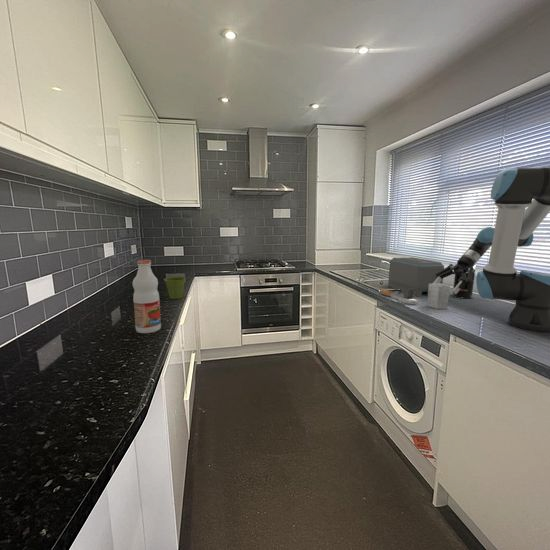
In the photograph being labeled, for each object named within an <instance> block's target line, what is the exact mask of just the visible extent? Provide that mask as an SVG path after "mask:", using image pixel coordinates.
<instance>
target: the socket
mask: <svg viewBox="0 0 550 550" xmlns="http://www.w3.org/2000/svg"><path fill="white" fill-rule="evenodd" d="M450 288H451V285H449V284H445V283H442V284H441V283H431V284H429V287H428V292H427V298H426V299H427V300H426V306H427V307H430V308H431V309H435V310H440V309H441V310H442V309H448V307H449V298H450Z"/></svg>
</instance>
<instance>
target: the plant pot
mask: <svg viewBox="0 0 550 550" xmlns="http://www.w3.org/2000/svg"><path fill="white" fill-rule="evenodd" d="M186 280H187V278H186V277H184V276H171V277H166V278H164V279H163V281H164V282H165V285H166V288H167V292H168V295H169V299H170V300H176V299H177V300H180V299H183V297H184V290H185V289H184V288H185V282H186Z"/></svg>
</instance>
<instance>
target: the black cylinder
mask: <svg viewBox="0 0 550 550" xmlns="http://www.w3.org/2000/svg"><path fill="white" fill-rule="evenodd" d="M456 264H457V262H456V263H455V265H456ZM473 268H474V270H475V272H474V273H473V277H472V282H471V284H470V285H469V284H467V285H465V286H464V287H463V288H462V289H460V290H459V292H458V293H457V294H455V293H454V292H453V291H452V295H453V297H455V296H456V298H459V297H463V298H462V299H470V298H472V297H473V291H474V284H475V278H476V277H475V276H476V270H477V263H476V264H475V265H474V266H473ZM467 276H468V272H466V279H467ZM460 281H462V275H460V274H454V279H453V288H452V290H453V289H454V288H455V287H456V286H457V285H458V283H459V282H460ZM462 282H463V281H462Z"/></svg>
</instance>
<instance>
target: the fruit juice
mask: <svg viewBox="0 0 550 550" xmlns="http://www.w3.org/2000/svg"><path fill="white" fill-rule="evenodd" d="M151 264H152V260H151V259H139V260H136V265H137V266H138V267H137V273H136V276H135V277H134V278H133V280H132V288H133V290H134V291H133V299H132V300H133V301H132V302H133V310H134V323H135V324H134V325H135V331H136V333H139V334H151V333H156V332H157V331H158V332H159V330H161V328H162V321H161V305H160V303H161V302H160V301H161V300H160V294H159V293H160V292H159V291H158V285H159V280H158V278H157V277H156V276H155V274H154V273H153V270H152V268H151Z"/></svg>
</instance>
